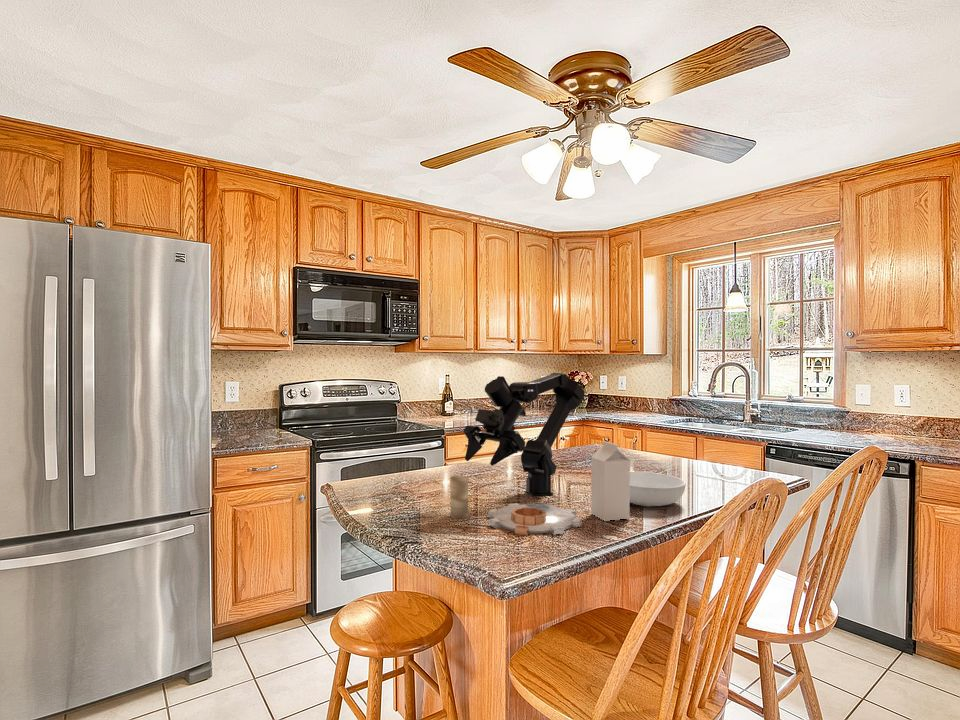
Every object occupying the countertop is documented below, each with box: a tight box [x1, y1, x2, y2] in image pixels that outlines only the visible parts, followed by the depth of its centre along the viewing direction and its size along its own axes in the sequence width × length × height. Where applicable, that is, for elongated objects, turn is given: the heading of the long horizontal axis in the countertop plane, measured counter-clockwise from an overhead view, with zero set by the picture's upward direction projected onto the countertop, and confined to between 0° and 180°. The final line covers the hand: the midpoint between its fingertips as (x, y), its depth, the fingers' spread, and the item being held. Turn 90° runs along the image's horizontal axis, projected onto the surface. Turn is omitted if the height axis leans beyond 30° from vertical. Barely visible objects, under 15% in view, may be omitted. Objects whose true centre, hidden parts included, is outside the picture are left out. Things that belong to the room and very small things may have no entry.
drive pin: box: [449, 474, 469, 520], centre depth 140 cm, size 4×4×10 cm
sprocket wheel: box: [487, 502, 583, 536], centre depth 136 cm, size 23×23×4 cm
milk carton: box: [590, 440, 631, 522], centre depth 139 cm, size 7×7×19 cm
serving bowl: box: [630, 471, 687, 507], centre depth 154 cm, size 21×21×7 cm
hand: (478, 462), depth 145 cm, fingers open, 9 cm apart
